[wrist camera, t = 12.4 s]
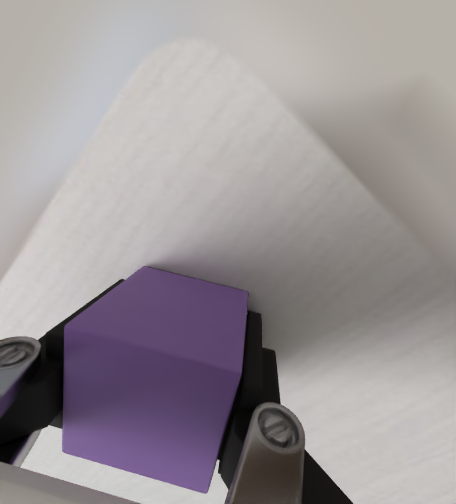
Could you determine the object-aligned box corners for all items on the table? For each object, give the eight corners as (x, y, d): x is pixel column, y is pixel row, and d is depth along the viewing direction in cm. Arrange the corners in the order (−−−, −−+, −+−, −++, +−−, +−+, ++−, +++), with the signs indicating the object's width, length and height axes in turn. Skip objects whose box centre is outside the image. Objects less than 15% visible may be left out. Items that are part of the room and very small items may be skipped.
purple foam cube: (143, 265, 10) (62, 324, 6) (249, 291, 10) (242, 372, 6) (133, 352, 11) (60, 452, 7) (226, 377, 11) (207, 496, 7)
